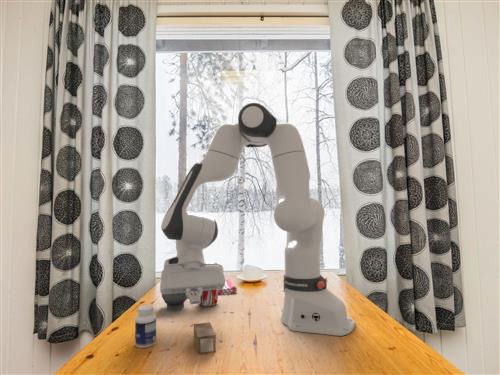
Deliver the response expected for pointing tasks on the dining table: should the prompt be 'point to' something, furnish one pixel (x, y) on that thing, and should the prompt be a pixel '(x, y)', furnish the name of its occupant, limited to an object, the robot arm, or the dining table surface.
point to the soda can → (209, 298)
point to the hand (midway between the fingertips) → (195, 303)
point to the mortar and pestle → (174, 300)
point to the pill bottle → (145, 327)
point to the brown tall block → (204, 338)
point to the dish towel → (226, 290)
